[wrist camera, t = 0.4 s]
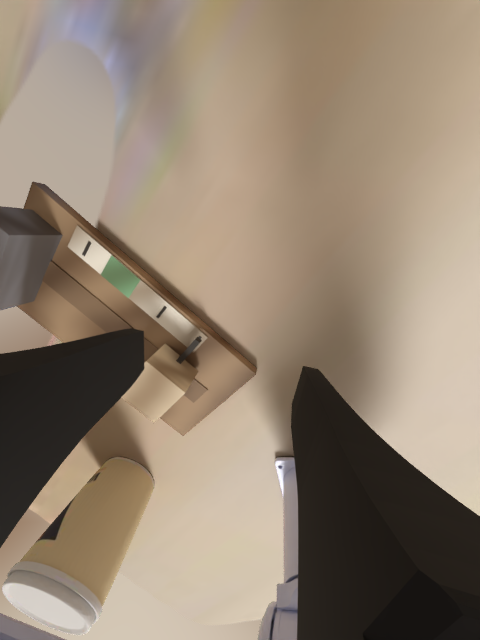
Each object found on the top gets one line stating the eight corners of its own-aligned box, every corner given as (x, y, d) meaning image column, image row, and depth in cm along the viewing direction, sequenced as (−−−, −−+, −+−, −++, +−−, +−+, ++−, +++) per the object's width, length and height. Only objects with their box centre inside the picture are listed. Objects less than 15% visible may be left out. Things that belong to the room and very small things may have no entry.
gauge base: (257, 368, 21) (250, 405, 17) (186, 428, 26) (165, 471, 21) (44, 184, 19) (-34, 167, 14) (7, 288, 23) (-61, 301, 18)
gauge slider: (218, 351, 20) (207, 371, 17) (170, 399, 23) (154, 423, 20) (183, 321, 19) (166, 336, 16) (138, 374, 22) (118, 395, 19)
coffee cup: (102, 442, 29) (-6, 566, 18) (167, 470, 29) (97, 615, 18) (95, 482, 33) (1, 606, 22) (152, 508, 33) (87, 646, 22)
